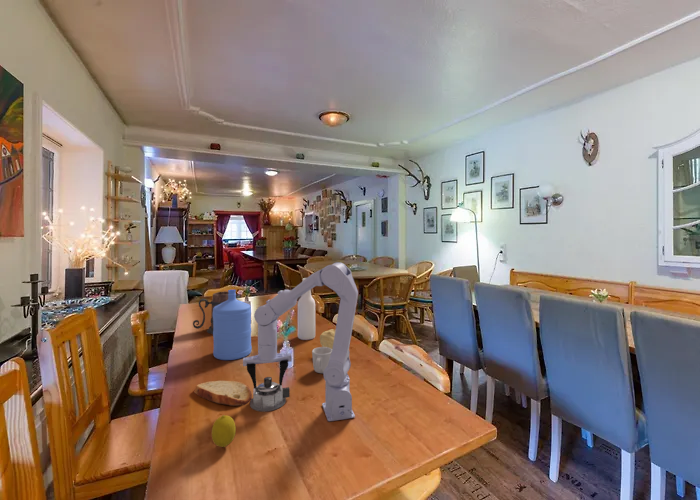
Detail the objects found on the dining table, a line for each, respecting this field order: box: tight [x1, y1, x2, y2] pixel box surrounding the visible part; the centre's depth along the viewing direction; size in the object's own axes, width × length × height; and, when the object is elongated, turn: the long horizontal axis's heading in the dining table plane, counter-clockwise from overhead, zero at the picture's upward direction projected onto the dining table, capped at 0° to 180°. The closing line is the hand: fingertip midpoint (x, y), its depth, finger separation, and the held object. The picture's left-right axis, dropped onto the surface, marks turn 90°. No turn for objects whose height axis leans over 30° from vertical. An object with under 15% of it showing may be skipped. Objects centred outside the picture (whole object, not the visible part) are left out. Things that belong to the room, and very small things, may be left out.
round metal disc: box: [249, 397, 287, 413], centre depth 102 cm, size 11×11×1 cm
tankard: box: [192, 290, 228, 335], centre depth 174 cm, size 24×17×20 cm
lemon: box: [211, 414, 237, 448], centre depth 80 cm, size 6×6×8 cm
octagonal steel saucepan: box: [252, 383, 291, 409], centre depth 102 cm, size 9×11×4 cm
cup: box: [311, 346, 332, 374], centre depth 123 cm, size 11×8×8 cm
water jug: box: [212, 289, 252, 361], centre depth 141 cm, size 16×16×28 cm
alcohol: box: [297, 277, 316, 341], centre depth 163 cm, size 9×9×30 cm
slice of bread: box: [193, 380, 253, 407], centre depth 106 cm, size 18×18×4 cm
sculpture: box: [319, 328, 336, 349], centre depth 142 cm, size 12×12×11 cm
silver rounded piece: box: [257, 376, 279, 396], centre depth 101 cm, size 7×7×7 cm
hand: (267, 385), depth 101 cm, fingers open, 7 cm apart
